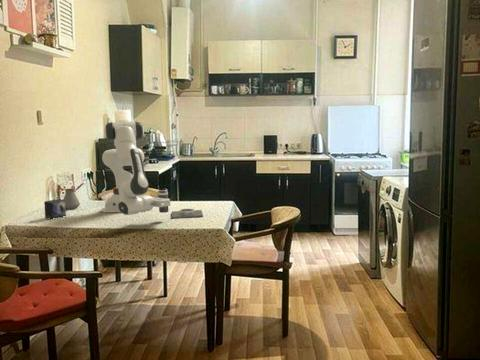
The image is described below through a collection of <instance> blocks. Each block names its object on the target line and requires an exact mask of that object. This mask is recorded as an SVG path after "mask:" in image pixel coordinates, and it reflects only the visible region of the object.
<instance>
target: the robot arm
mask: <svg viewBox="0 0 480 360" xmlns="http://www.w3.org/2000/svg"><path fill="white" fill-rule="evenodd" d="M103 134H104V137H105V139H107V140H108V141H111V142H113V145H114V147H115V148H112V149H108V150H105V151H104V152H103V153H102V155H101V156H102V157H101V158H102V159H101V160H102V162H103V164H104V165H105V166H106V167H108V168H109V169H110V170H111V172H112V173H113V175H114V179H115V185H116V186H115V187H113V190H112V193H113V194H111V196H110V197H108V198H107V199H106V200H105V203H104V207H103V208H101V210H100V211H101V212H102V213H121V214H122V215H124V216H131V215H137V214H139V213H146V212H150V211H152V210H153V209H154V207H155V208H159V207H166V206H168V207H169V206H171V199H170V198H169V197H168V198H166V199H165V198H159V196H158V197H157V196H151V195H149V194H146V193H147V192H148V190H149V186H150V184H149V180H148V178H147V175H146V172H145V167H144V164H143V163H144V161H145V153H144V152H143V149H141V148H139V147H137V141H138V140H142V139H143V137H144V134H145V129H144V126H143V123H141V122H139V121H129V120H126V119H119V120H118V121H115V122H108V123H106V124H105V126H104V131H103ZM127 166H128V167H129V166H131V169H132V173H131V172H130V171H127V170H125V169H124V168H123V167H127Z"/></svg>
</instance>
